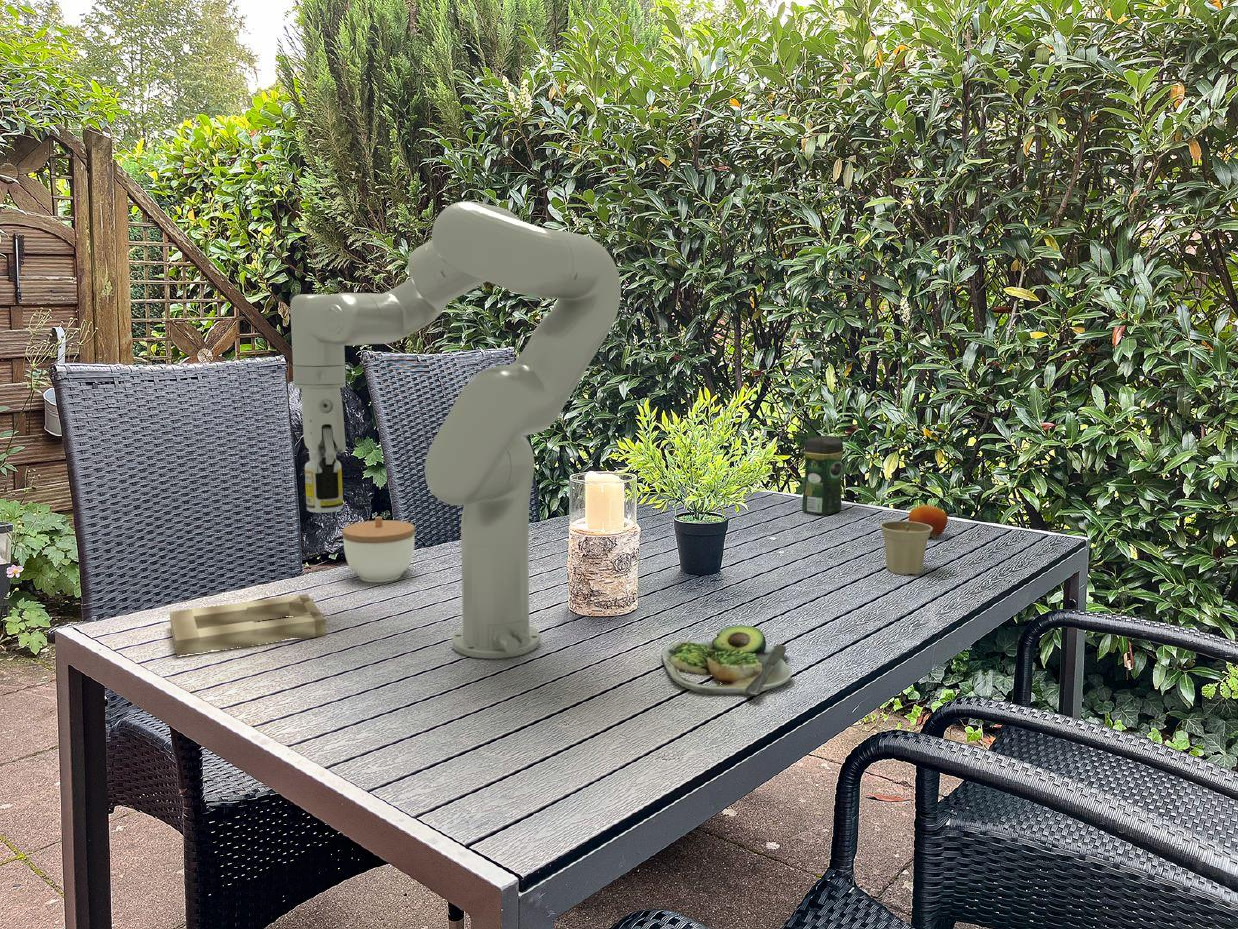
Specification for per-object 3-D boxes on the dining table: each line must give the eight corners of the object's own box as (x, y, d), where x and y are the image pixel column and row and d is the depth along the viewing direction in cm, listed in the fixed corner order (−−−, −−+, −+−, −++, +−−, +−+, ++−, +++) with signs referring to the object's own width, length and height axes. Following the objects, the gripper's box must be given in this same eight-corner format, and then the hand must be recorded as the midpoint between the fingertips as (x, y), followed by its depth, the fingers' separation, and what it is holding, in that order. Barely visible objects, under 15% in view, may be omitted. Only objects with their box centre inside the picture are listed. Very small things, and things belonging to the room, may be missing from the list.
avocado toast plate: (817, 706, 116) (818, 670, 116) (674, 709, 115) (675, 673, 114) (779, 650, 135) (780, 619, 135) (656, 652, 134) (656, 621, 133)
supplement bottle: (348, 506, 147) (346, 445, 146) (333, 514, 142) (331, 450, 140) (316, 505, 148) (313, 444, 146) (300, 512, 143) (297, 449, 141)
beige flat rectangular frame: (310, 608, 151) (309, 593, 151) (328, 635, 139) (327, 618, 138) (170, 627, 141) (169, 611, 141) (177, 658, 129) (175, 640, 129)
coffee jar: (818, 506, 234) (821, 432, 231) (846, 511, 228) (849, 435, 225) (795, 512, 227) (798, 436, 224) (823, 517, 221) (827, 439, 218)
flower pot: (878, 576, 173) (880, 530, 171) (876, 562, 182) (879, 519, 180) (931, 579, 170) (934, 533, 169) (927, 566, 179) (930, 522, 178)
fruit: (907, 534, 199) (909, 499, 202) (906, 545, 206) (908, 511, 209) (948, 537, 196) (949, 501, 199) (945, 548, 203) (947, 514, 206)
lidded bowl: (430, 574, 171) (429, 515, 170) (380, 591, 161) (378, 528, 159) (380, 564, 178) (378, 507, 176) (329, 580, 167) (326, 519, 165)
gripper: (355, 380, 136) (360, 503, 139) (335, 373, 151) (339, 483, 154) (301, 382, 132) (307, 507, 135) (286, 373, 148) (291, 487, 151)
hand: (324, 493), depth 145 cm, fingers closed on supplement bottle, 5 cm apart
